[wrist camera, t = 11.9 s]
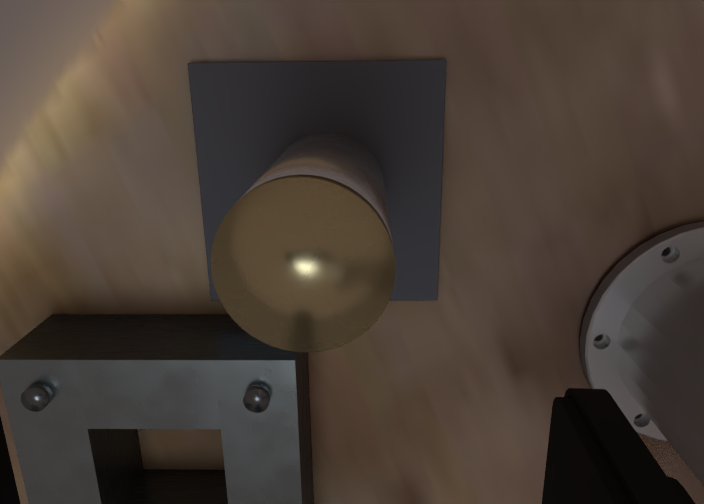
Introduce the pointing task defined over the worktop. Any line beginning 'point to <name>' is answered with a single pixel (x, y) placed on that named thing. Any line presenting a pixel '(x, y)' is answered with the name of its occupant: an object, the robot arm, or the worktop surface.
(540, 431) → the worktop surface
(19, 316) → the worktop surface
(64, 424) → the housing
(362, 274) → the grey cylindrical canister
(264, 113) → the rubber mat
